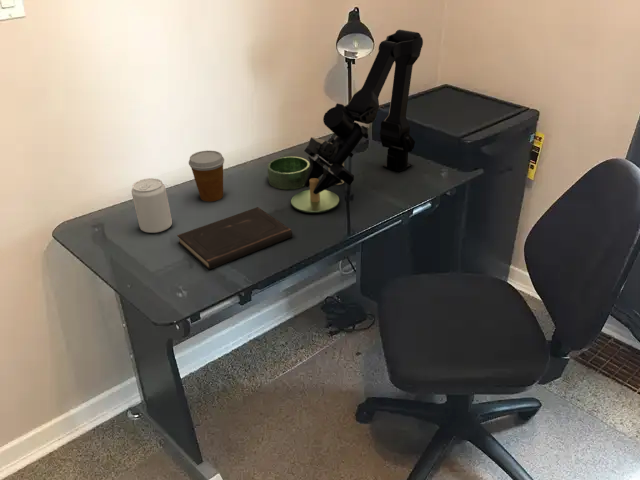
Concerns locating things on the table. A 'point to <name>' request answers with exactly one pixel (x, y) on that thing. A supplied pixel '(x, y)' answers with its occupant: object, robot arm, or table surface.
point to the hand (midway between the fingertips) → (310, 189)
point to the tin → (288, 172)
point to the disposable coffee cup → (208, 174)
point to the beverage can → (151, 205)
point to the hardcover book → (234, 237)
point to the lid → (314, 199)
